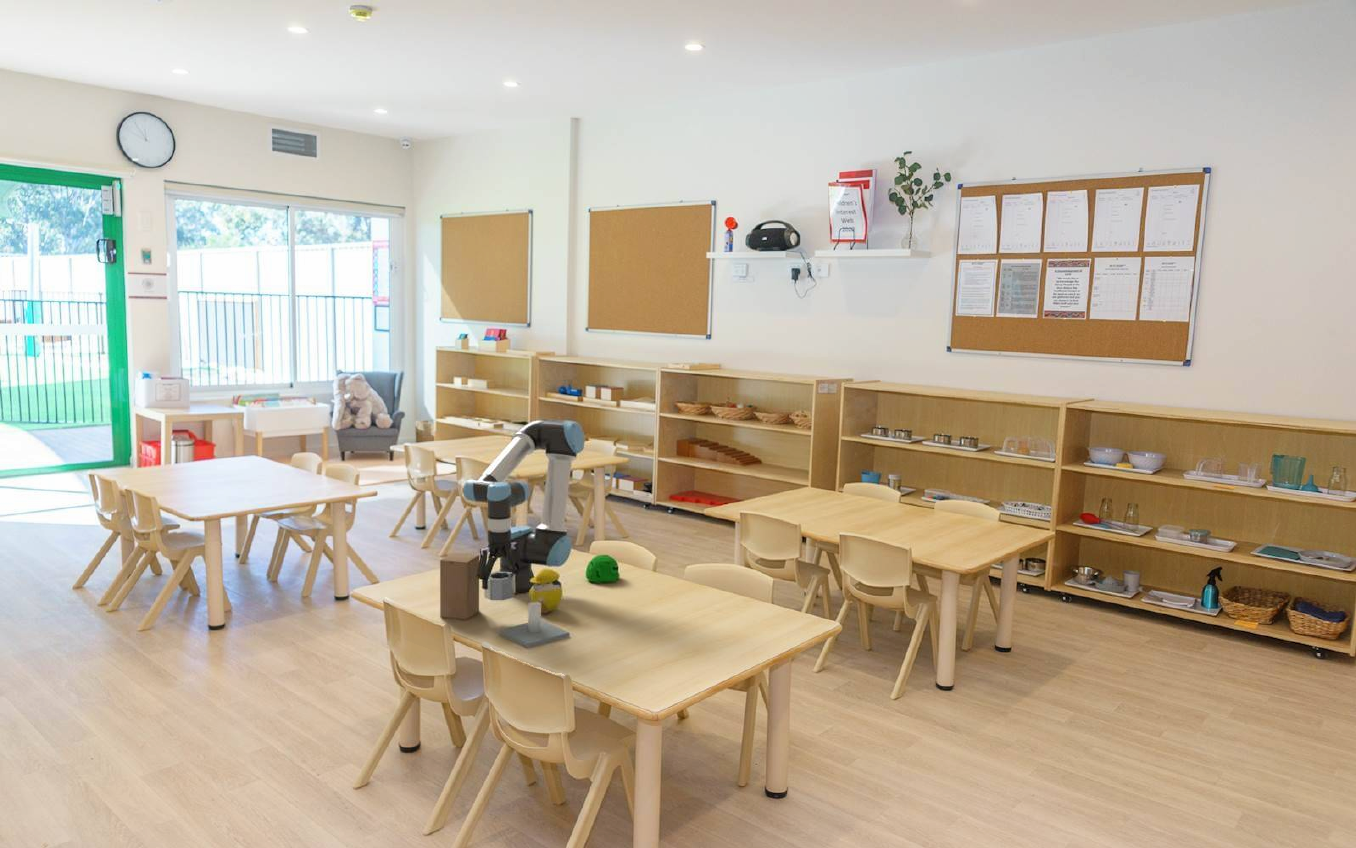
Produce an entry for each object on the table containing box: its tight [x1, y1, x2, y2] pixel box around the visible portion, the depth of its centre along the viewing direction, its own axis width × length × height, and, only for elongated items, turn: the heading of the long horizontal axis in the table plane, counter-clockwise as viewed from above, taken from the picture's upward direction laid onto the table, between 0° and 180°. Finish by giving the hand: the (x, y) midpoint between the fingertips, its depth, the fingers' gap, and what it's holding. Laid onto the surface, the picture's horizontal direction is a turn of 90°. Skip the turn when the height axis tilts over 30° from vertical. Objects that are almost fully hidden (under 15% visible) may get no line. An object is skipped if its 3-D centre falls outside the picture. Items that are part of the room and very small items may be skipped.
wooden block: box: [439, 552, 480, 621], centre depth 311 cm, size 10×10×20 cm
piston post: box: [499, 602, 571, 649], centre depth 293 cm, size 16×16×10 cm
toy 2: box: [585, 554, 621, 584], centre depth 356 cm, size 14×13×10 cm
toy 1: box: [528, 568, 563, 614], centre depth 317 cm, size 13×10×15 cm
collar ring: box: [489, 571, 515, 601], centre depth 304 cm, size 9×9×7 cm
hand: (499, 595), depth 305 cm, fingers closed on collar ring, 9 cm apart
